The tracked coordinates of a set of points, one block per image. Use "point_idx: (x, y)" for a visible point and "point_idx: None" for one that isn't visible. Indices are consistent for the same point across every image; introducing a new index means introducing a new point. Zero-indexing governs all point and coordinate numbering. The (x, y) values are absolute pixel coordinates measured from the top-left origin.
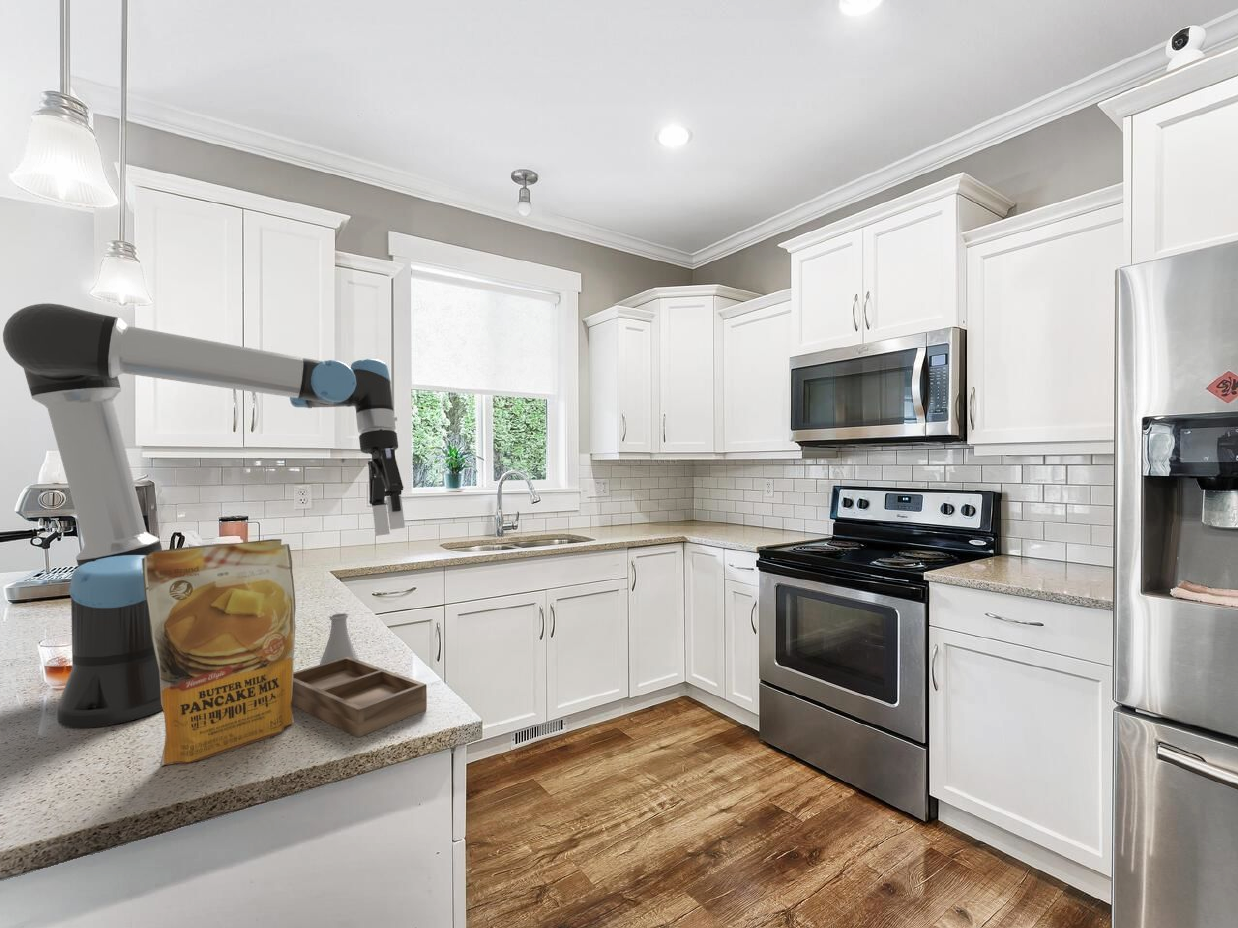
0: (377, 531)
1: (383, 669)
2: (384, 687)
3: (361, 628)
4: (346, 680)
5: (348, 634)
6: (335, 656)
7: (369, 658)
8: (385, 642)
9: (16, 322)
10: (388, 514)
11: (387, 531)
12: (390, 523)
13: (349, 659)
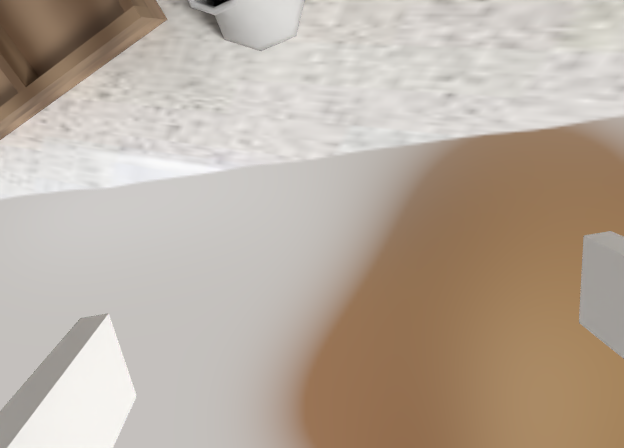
0: (603, 256)
1: (30, 97)
2: (14, 92)
3: (620, 70)
4: (67, 13)
5: (235, 18)
6: None
7: (297, 76)
8: (418, 127)
9: None
10: (39, 391)
11: (595, 321)
12: (61, 343)
13: (116, 20)
